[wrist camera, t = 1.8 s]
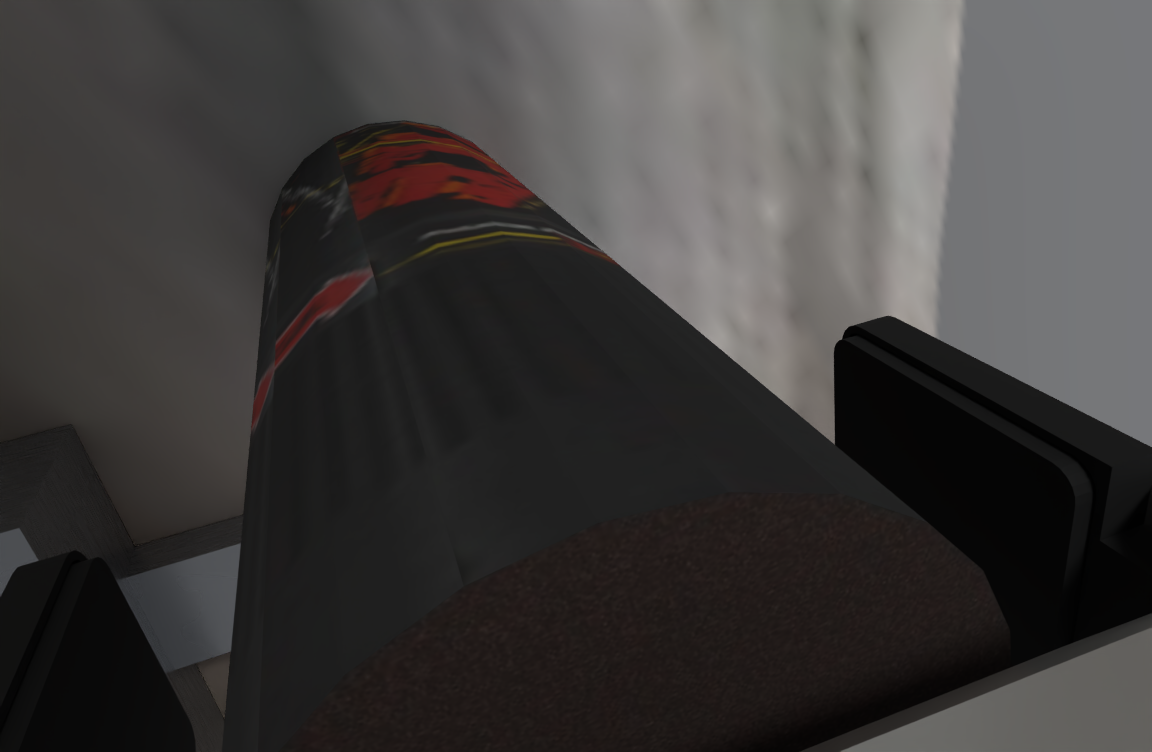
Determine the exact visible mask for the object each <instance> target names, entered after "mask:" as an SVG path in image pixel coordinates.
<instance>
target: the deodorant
mask: <svg viewBox="0 0 1152 752" xmlns="http://www.w3.org/2000/svg"><path fill="white" fill-rule="evenodd" d="M1008 668H1011V643H1010V629H1009V627H1008V624H1007V622H1006V620H1005V618H1004V616H1003V613H1002V611H1001V609H1000V607H999V604H998V602H997V600H996V598H995V596H994V593H993V591H992V589H991V587H990V584H989V582H988V580H987V578H986V576H985V573H984V571H983V570H982V569H981V568H980V567H979V566H978V565H976V564H975V563H974V562H973V561H972V560H971V559H970V558H968V557H967V556H966V555H965V554H964V553H963V552H961V551H960V550H959V549H958V548H957V547H956V546H954V545H953V544H952V543H951V542H950V541H949V540H948V539H946V538H945V537H944V536H943V535H942V534H941V533H939V532H938V531H937V530H936V529H935V528H934V527H932V526H931V525H930V524H929V523H928V522H927V521H925V520H924V519H923V518H922V517H921V516H919V515H918V514H917V513H916V512H915V511H913V510H912V509H911V508H910V507H909V506H907V505H906V504H905V503H904V502H903V501H901V500H900V499H899V498H898V497H897V496H895V495H894V494H893V493H892V492H891V491H889V490H888V489H887V488H886V487H885V486H883V485H882V484H881V483H880V482H879V481H877V480H876V479H875V478H874V477H873V476H871V475H870V474H869V473H868V472H867V471H865V470H864V469H863V468H862V467H861V466H859V465H858V464H857V463H856V462H855V461H853V460H852V459H851V458H850V457H849V456H848V455H846V454H845V453H844V452H843V451H842V450H840V449H839V448H838V447H837V446H836V445H834V444H833V443H832V442H831V441H830V440H828V439H827V438H826V437H825V436H824V435H822V434H821V433H820V432H819V431H818V430H816V429H815V428H814V427H813V426H812V425H810V424H809V423H808V422H807V421H806V420H804V419H803V418H802V417H801V416H800V415H798V414H797V413H796V412H795V411H794V410H792V409H791V408H790V407H789V406H788V405H786V404H785V403H784V402H783V401H782V400H780V399H779V398H778V397H777V396H776V395H774V394H773V393H772V392H771V391H770V390H768V389H767V388H766V387H765V386H764V385H762V384H761V383H760V382H759V381H758V380H756V379H755V378H754V377H753V376H752V375H750V374H749V373H748V372H747V371H746V370H744V369H743V368H742V367H741V366H740V365H738V364H737V363H736V362H735V361H734V360H732V359H731V358H730V357H729V356H728V355H726V354H725V353H724V352H723V351H722V350H720V349H719V348H718V347H717V346H716V345H714V344H713V343H712V342H711V341H710V340H708V339H707V338H706V337H705V336H704V335H702V334H701V333H700V332H699V331H698V330H696V329H695V328H694V327H693V326H692V325H691V324H689V323H688V322H687V321H686V320H685V319H683V318H682V317H681V316H680V315H679V314H677V313H676V312H675V311H674V310H673V309H671V308H670V307H669V306H668V305H667V304H665V303H664V302H663V301H662V300H661V299H659V298H658V297H657V296H656V295H655V294H653V293H652V292H651V291H650V290H649V289H647V288H646V287H645V286H644V285H643V284H641V283H640V282H639V281H638V280H637V279H635V278H634V277H633V276H632V275H631V274H629V273H628V272H627V271H626V270H625V269H623V268H622V267H621V266H620V265H619V264H617V263H616V262H615V261H614V260H613V259H611V258H610V257H609V256H608V255H607V254H605V253H604V252H603V251H602V250H601V249H599V248H598V247H597V246H596V245H595V244H593V243H592V242H591V241H590V240H589V239H587V238H586V237H585V236H584V235H583V234H581V233H580V232H579V231H578V230H577V229H575V228H574V227H573V226H572V225H571V224H569V223H568V222H567V221H566V220H565V219H563V218H562V217H561V216H560V215H559V214H557V213H556V212H555V211H554V210H553V209H551V208H550V207H549V206H548V205H547V204H545V203H544V202H543V201H542V200H541V199H539V198H538V197H537V196H536V195H535V194H533V193H532V192H531V191H530V190H529V189H528V188H526V187H525V186H524V185H523V184H522V183H520V182H519V181H518V180H517V179H516V178H514V177H513V176H512V175H511V174H510V173H508V172H507V171H506V170H505V169H504V168H502V167H501V166H500V165H499V164H498V163H496V162H495V161H494V160H493V159H492V158H490V157H489V156H488V155H487V154H486V153H484V152H483V151H482V150H481V149H480V148H478V147H477V146H476V145H475V144H474V143H472V142H471V141H469V140H466V139H464V138H462V137H460V136H458V135H456V134H454V133H452V132H449V131H447V130H445V129H443V128H441V127H437V126H432V125H426V124H420V123H415V122H409V121H396V122H385V123H375V124H367V125H364V126H362V127H359V128H357V129H354V130H351V131H349V132H346V133H344V134H341V135H339V136H336V137H333V138H332V139H331V140H329V141H328V142H327V143H325V144H324V145H323V146H321V147H320V148H319V149H317V150H316V151H315V152H313V153H312V154H311V155H309V156H308V157H307V158H305V159H304V160H303V162H302V163H301V164H300V166H299V167H298V168H297V170H296V171H295V172H294V174H293V175H292V176H291V178H290V179H289V180H288V181H287V183H286V184H285V185H284V187H283V188H282V191H281V194H280V196H279V199H278V202H277V204H276V207H275V210H274V212H273V215H272V218H271V220H270V229H269V240H268V251H267V262H266V273H265V284H264V295H263V306H262V317H261V328H260V339H259V349H258V360H257V371H256V382H255V393H254V404H253V415H252V426H251V437H250V448H249V459H248V470H247V481H246V491H245V502H244V513H243V524H242V535H241V546H240V557H239V568H238V579H237V590H236V601H235V612H234V623H233V633H232V644H231V655H230V666H229V677H228V688H227V699H226V710H225V721H224V732H223V743H222V752H801V751H803V750H805V749H808V748H810V747H813V746H815V745H818V744H820V743H823V742H825V741H828V740H830V739H833V738H835V737H838V736H840V735H843V734H845V733H848V732H850V731H852V730H855V729H857V728H860V727H862V726H865V725H867V724H870V723H873V722H875V721H878V720H880V719H883V718H885V717H888V716H890V715H893V714H895V713H898V712H900V711H903V710H905V709H908V708H910V707H913V706H915V705H918V704H920V703H923V702H925V701H928V700H930V699H933V698H935V697H938V696H940V695H943V694H945V693H948V692H950V691H953V690H955V689H958V688H960V687H963V686H965V685H968V684H970V683H973V682H975V681H978V680H980V679H983V678H985V677H988V676H991V675H993V674H996V673H998V672H1001V671H1003V670H1006V669H1008Z"/></svg>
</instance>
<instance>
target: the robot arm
mask: <svg viewBox="0 0 1152 752" xmlns="http://www.w3.org/2000/svg"><path fill="white" fill-rule="evenodd" d="M834 400H835V445H836V446H837V447H838V448H839V449H840V450H842V451H843V452H844V453H845V454H846V455H848V456H849V457H850V458H851V459H852V460H853V461H855V462H856V463H857V464H858V465H859V466H861V467H862V468H863V469H864V470H865V471H867V472H868V473H869V474H870V475H871V476H873V477H874V478H875V479H876V480H877V481H879V482H880V483H881V484H882V485H883V486H885V487H886V488H887V489H888V490H889V491H891V492H892V493H893V494H894V495H895V496H897V497H898V498H899V499H900V500H901V501H903V502H904V503H905V504H906V505H907V506H909V507H910V508H911V509H912V510H913V511H915V512H916V513H917V514H918V515H919V516H921V517H922V518H923V519H924V520H925V521H927V522H928V523H929V524H930V525H931V526H932V527H934V528H935V529H936V530H937V531H938V532H939V533H941V534H942V535H943V536H944V537H945V538H946V539H948V540H949V541H950V542H951V543H952V544H953V545H954V546H956V547H957V548H958V549H959V550H960V551H961V552H963V553H964V554H965V555H966V556H967V557H968V558H970V559H971V560H972V561H973V562H974V563H975V564H976V565H978V566H979V567H980V568H981V569H982V570H983V571H984V573H985V576H986V578H987V580H988V582H989V584H990V587H991V589H992V591H993V593H994V596H995V598H996V600H997V602H998V604H999V607H1000V609H1001V611H1002V613H1003V616H1004V618H1005V620H1006V622H1007V624H1008V627H1009V629H1010V643H1011V668H1008V669H1006V670H1003V671H1001V672H998V673H996V674H993V675H991V676H988V677H985V678H983V679H980V680H978V681H975V682H973V683H970V684H968V685H965V686H963V687H960V688H958V689H955V690H953V691H950V692H948V693H945V694H943V695H940V696H938V697H935V698H933V699H930V700H928V701H925V702H923V703H920V704H918V705H915V706H913V707H910V708H908V709H905V710H903V711H900V712H898V713H895V714H893V715H890V716H888V717H885V718H883V719H880V720H878V721H875V722H873V723H870V724H867V725H865V726H862V727H860V728H857V729H855V730H852V731H850V732H848V733H845V734H843V735H840V736H838V737H835V738H833V739H830V740H828V741H825V742H823V743H820V744H818V745H815V746H813V747H810V748H808V749H805V750H803V751H801V752H1152V447H1150V446H1148V445H1146V444H1144V443H1142V442H1140V441H1138V440H1136V439H1134V438H1132V437H1130V436H1128V435H1126V434H1124V433H1122V432H1120V431H1118V430H1116V429H1114V428H1112V427H1111V426H1109V425H1107V424H1105V423H1103V422H1100V421H1098V420H1097V419H1095V418H1092V417H1091V416H1089V415H1087V414H1085V413H1083V412H1081V411H1079V410H1077V409H1075V408H1073V407H1071V406H1069V405H1067V404H1065V403H1063V402H1061V401H1059V400H1057V399H1055V398H1053V397H1051V396H1049V395H1047V394H1045V393H1043V392H1041V391H1039V390H1037V389H1035V388H1033V387H1031V386H1029V385H1027V384H1025V383H1023V382H1021V381H1019V380H1017V379H1016V378H1014V377H1012V376H1010V375H1008V374H1005V373H1003V372H1002V371H1000V370H998V369H996V368H994V367H992V366H990V365H988V364H986V363H984V362H982V361H980V360H978V359H976V358H974V357H972V356H970V355H968V354H966V353H964V352H962V351H960V350H958V349H956V348H954V347H952V346H950V345H948V344H946V343H944V342H942V341H940V340H938V339H936V338H934V337H932V336H930V335H928V334H927V333H925V332H923V331H921V330H919V329H917V328H915V327H913V326H911V325H909V324H907V323H905V322H903V321H901V320H899V319H897V318H895V317H891V316H885V317H881V318H877V319H874V320H871V321H867V322H864V323H860V324H857V325H853V326H850V327H848V328H847V329H846V330H845V332H844V335H843V338H842V340H839V341H838V342H837V343H836V346H835V348H834ZM0 752H196V744H195V736H194V731H193V728H192V725H191V722H190V720H189V718H188V716H187V714H186V712H185V710H184V708H183V706H182V705H181V703H180V701H179V699H178V697H177V695H176V693H175V691H174V689H173V688H172V686H171V684H170V682H169V680H168V678H167V676H166V674H165V672H164V670H163V669H162V667H161V665H160V663H159V661H158V659H157V657H156V655H155V653H154V651H153V650H152V648H151V646H150V644H149V642H148V640H147V638H146V636H145V634H144V632H143V631H142V629H141V627H140V625H139V623H138V621H137V619H136V617H135V615H134V613H133V612H132V610H131V608H130V606H129V604H128V602H127V600H126V598H125V596H124V595H123V593H122V591H121V589H120V587H119V585H118V583H117V581H116V579H115V577H114V576H113V574H112V572H111V570H110V568H109V566H108V565H107V563H106V562H105V561H104V560H103V559H102V558H99V557H96V558H92V559H89V560H88V559H87V558H86V557H85V556H84V555H83V554H82V553H81V552H79V551H76V550H74V551H71V552H67V553H64V554H60V555H57V556H53V557H50V558H46V559H43V560H39V561H36V562H32V563H29V564H26V565H22V566H20V567H17V568H16V570H15V571H14V572H13V574H12V575H11V577H10V579H9V581H8V583H7V585H6V587H5V589H4V591H3V593H2V595H1V597H0Z"/></svg>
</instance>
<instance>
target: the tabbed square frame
mask: <svg viewBox="0 0 1152 752" xmlns="http://www.w3.org/2000/svg"><path fill="white" fill-rule="evenodd" d="M242 524H243V515H241V516H238V517H234V518H231V519H228V520H224V521H221V522H217V523H214V524H211V525H207V526H204V527H200V528H197V529H194V530H190V531H187V532H183V533H180V534H177V535H173V536H170V537H166V538H163V539H160V540H156V541H153V542H149V543H146V544H143V545H139V546H136V547H135V546H134V544H133V542H132V541H131V539H130V537H129V535H128V533H127V531H126V529H125V527H124V525H123V523H122V521H121V519H120V517H119V515H118V513H117V512H116V510H115V508H114V506H113V504H112V502H111V500H110V498H109V496H108V494H107V492H106V490H105V488H104V486H103V485H102V483H101V481H100V479H99V477H98V475H97V473H96V471H95V469H94V467H93V465H92V463H91V461H90V459H89V457H88V456H87V454H86V452H85V450H84V448H83V446H82V444H81V442H80V440H79V438H78V436H77V434H76V432H75V430H74V428H73V427H72V425H68V426H65V427H61V428H57V429H53V430H49V431H45V432H42V433H38V434H34V435H30V436H26V437H22V438H18V439H15V440H11V441H7V442H3V443H0V597H1V595H2V593H3V591H4V589H5V587H6V585H7V583H8V581H9V579H10V577H11V575H12V574H13V572H14V571H15V570H16V568H17V567H20V566H22V565H26V564H29V563H32V562H36V561H39V560H43V559H46V558H50V557H53V556H57V555H60V554H64V553H67V552H71V551H74V550H76V551H79V552H81V553H82V554H83V555H84V556H85V557H86V558H87V559H88V560H89V559H92V558H96V557H99V558H102V559H103V560H104V561H105V562H106V563H107V565H108V566H109V568H110V570H111V572H112V574H113V576H114V577H115V579H116V581H117V583H118V585H119V587H120V589H121V591H122V593H123V595H124V596H125V598H126V600H127V602H128V604H129V606H130V608H131V610H132V612H133V613H134V615H135V617H136V619H137V621H138V623H139V625H140V627H141V629H142V631H143V632H144V634H145V636H146V638H147V640H148V642H149V644H150V646H151V648H152V650H153V651H154V653H155V655H156V657H157V659H158V661H159V663H160V665H161V667H162V669H163V670H164V672H165V674H166V676H167V678H168V680H169V682H170V684H171V686H172V688H173V689H174V691H175V693H176V695H177V697H178V699H179V701H180V703H181V705H182V706H183V708H184V710H185V712H186V714H187V716H188V718H189V720H190V722H191V725H192V728H193V731H194V736H195V744H196V752H222V743H223V732H224V721H225V720H224V718H223V716H222V714H221V712H220V711H219V709H218V707H217V705H216V703H215V701H214V699H213V697H212V695H211V693H210V691H209V689H208V687H207V685H206V684H205V682H204V680H203V678H202V676H201V674H200V672H199V670H198V668H197V666H196V664H195V663H197V662H200V661H204V660H207V659H210V658H213V657H216V656H219V655H222V654H225V653H228V652H231V644H232V633H233V623H234V612H235V601H236V590H237V579H238V568H239V557H240V546H241V535H242Z"/></svg>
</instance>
